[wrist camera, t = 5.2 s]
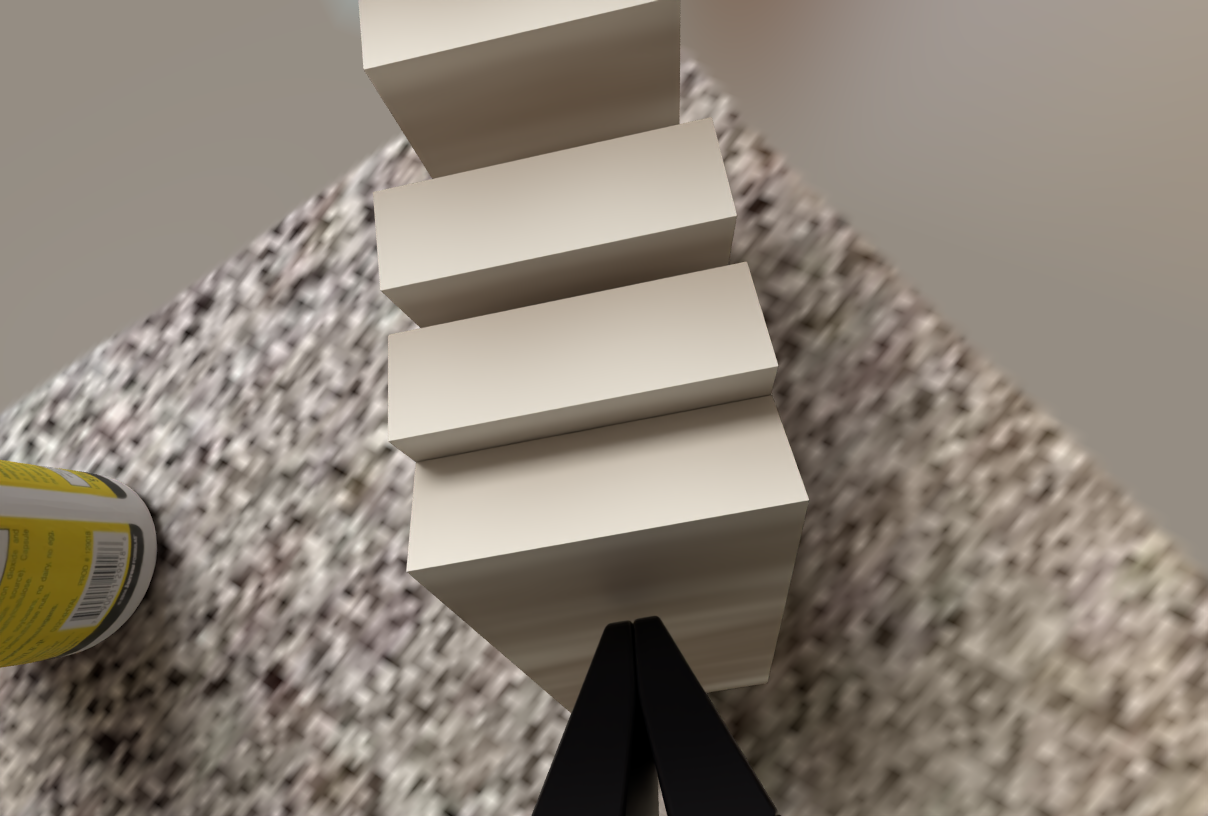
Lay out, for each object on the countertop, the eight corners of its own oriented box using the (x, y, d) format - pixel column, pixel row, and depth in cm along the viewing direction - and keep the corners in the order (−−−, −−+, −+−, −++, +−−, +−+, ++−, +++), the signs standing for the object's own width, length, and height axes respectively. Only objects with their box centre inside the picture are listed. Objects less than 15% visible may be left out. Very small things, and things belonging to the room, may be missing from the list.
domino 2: (733, 534, 17) (777, 366, 7) (553, 565, 17) (388, 440, 8) (719, 478, 17) (747, 261, 8) (547, 509, 18) (388, 335, 8)
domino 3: (703, 404, 18) (736, 215, 8) (537, 436, 18) (380, 291, 8) (692, 353, 18) (711, 117, 9) (530, 385, 19) (373, 191, 9)
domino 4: (677, 287, 19) (680, -5, 9) (520, 319, 19) (363, 69, 10) (668, 241, 19) (661, -84, 10) (514, 273, 20) (357, -10, 10)
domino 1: (767, 682, 15) (808, 499, 7) (572, 714, 16) (406, 572, 8) (750, 619, 16) (772, 394, 8) (567, 649, 17) (416, 462, 9)
